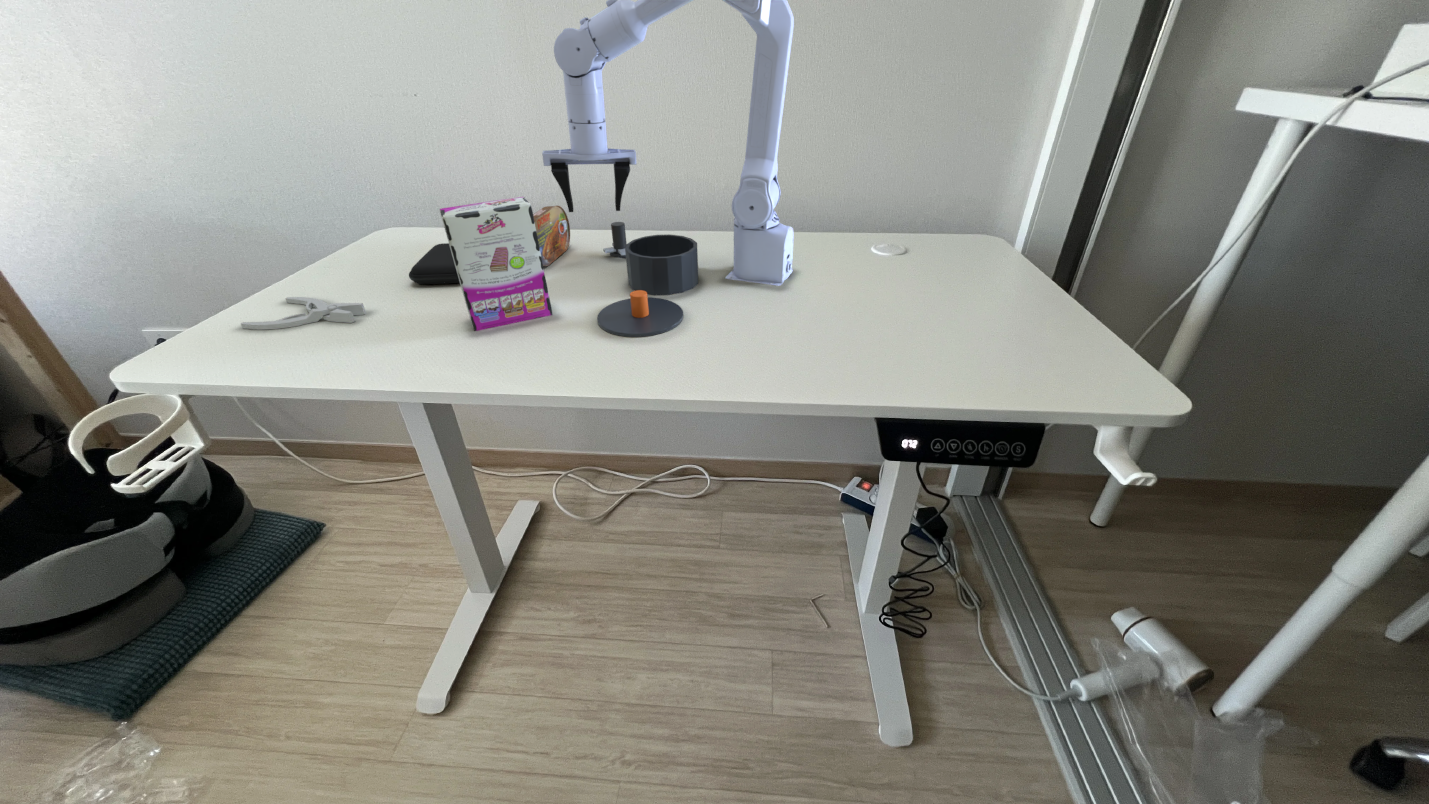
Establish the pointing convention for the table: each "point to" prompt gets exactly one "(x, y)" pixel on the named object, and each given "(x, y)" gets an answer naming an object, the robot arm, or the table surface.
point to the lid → (640, 316)
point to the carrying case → (435, 267)
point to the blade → (617, 240)
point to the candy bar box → (498, 261)
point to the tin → (552, 232)
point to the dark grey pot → (662, 264)
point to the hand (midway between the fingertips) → (594, 209)
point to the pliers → (312, 314)
